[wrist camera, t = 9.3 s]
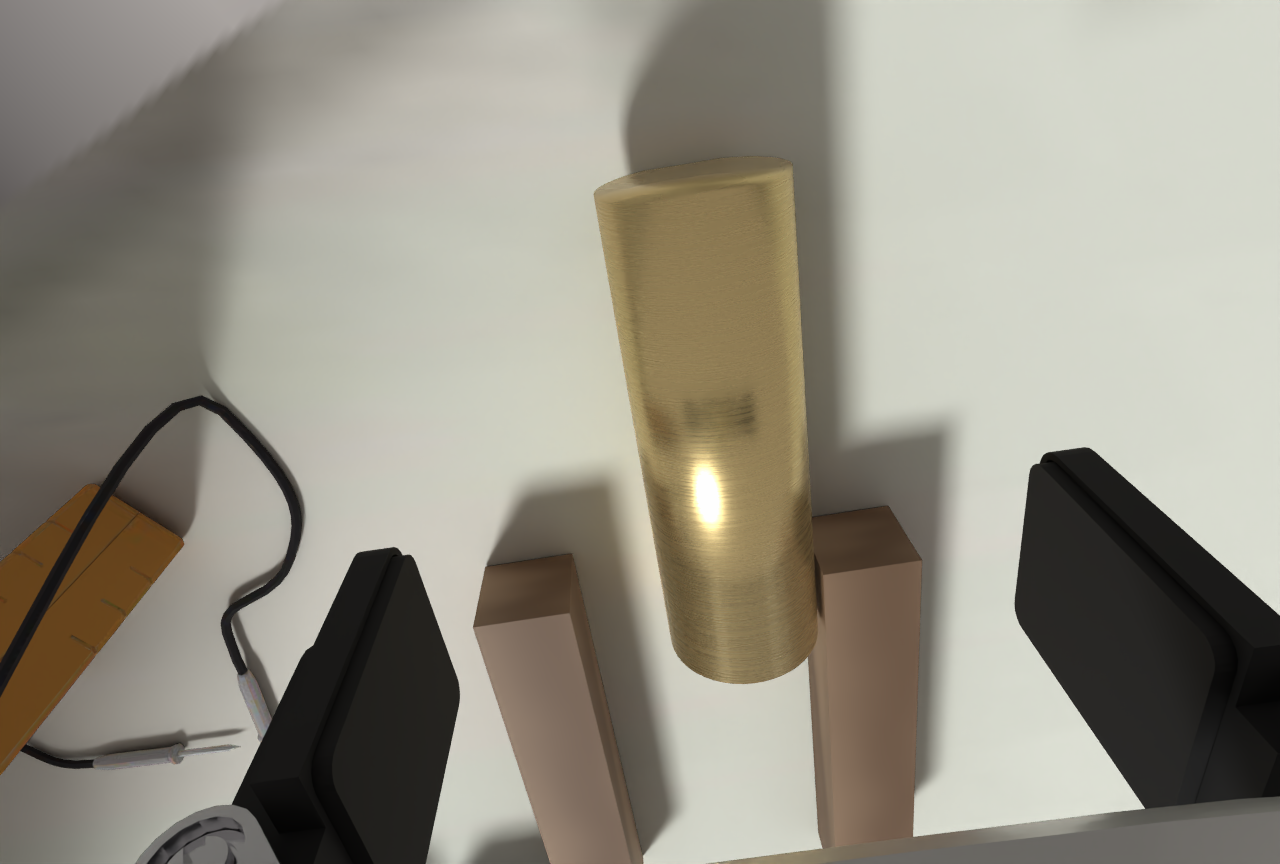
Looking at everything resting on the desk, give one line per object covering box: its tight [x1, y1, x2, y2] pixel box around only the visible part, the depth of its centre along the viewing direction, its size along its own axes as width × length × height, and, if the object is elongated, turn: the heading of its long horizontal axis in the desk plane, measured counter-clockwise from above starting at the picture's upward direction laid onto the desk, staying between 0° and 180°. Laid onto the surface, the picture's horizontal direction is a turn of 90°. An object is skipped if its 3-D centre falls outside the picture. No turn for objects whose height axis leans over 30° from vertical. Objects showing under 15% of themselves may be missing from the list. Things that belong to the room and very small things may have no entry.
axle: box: [594, 156, 818, 684], centre depth 18 cm, size 12×4×4 cm
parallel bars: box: [473, 506, 922, 864], centre depth 24 cm, size 12×14×2 cm
